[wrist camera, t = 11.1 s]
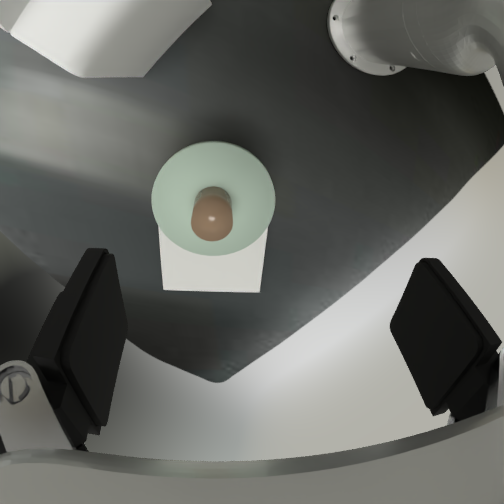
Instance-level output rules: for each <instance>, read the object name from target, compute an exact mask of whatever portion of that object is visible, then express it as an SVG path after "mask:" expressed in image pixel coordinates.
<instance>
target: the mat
mask: <svg viewBox="0 0 504 504" xmlns="http://www.w3.org/2000/svg"><path fill="white" fill-rule="evenodd" d="M267 230H268V227H267V228H266V230H265V231H264V233H263V234H262V235H261V236H260V237H259V238H258V239H257V240H256V241H255V242H254V243H252V244H251V245H249V246H248V247H246V248H244V249H242V250H240V251H237V252H235V253H231V254H227V255H221V256H206V255H200V254H195V253H192V252H189V251H187V250H185V249H183V248H181V247H179V246H178V245H176V244H175V243H173V242H172V241H171V240H170V239H169V238H168V237H167V236H166V235H165V234H164V233H163V232H162V230H161V229H160V227H159V240H160V254H161V266H162V278H163V288H164V290H183V291H217V292H259V291H260V284H261V276H262V269H263V261H264V253H265V246H266V238H267Z"/></svg>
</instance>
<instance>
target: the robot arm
mask: <svg viewBox="0 0 504 504" xmlns="http://www.w3.org/2000/svg"><path fill="white" fill-rule="evenodd" d="M333 17H335V21H334V20H333ZM327 29H328V33H329V37H330V39H331V42H332V44H333V46H334V48H335V49H336V51H337V52H338V54H339V55H340V56H341V57H342V58H343V59H344V60H345V61H346V62H347V63H348V64H350V65H351V66H352V67H354V68H356V69H358V70H359V71H362V72H365V73H368V74H372V75H381V76H385V75H392V74H395V73H398V72H400V71H402V70H403V69H405V68H406V67H412V68H419V69H426V70H432V71H438V72H444V73H449V74H455V75H462V76H473V75H478V74H481V73H484V72H486V71H488V70H489V69H490V68H492V67H493V66H494V65H496V66H497V68H498V71H499V74H500V77H501V80H502V83H503V86H504V0H334V1H333V2H332V4H331V6H330V8H329V11H328V17H327ZM350 56H351V57H352V60H350ZM390 67H391V69H390ZM390 330H391V333H392V335H393V337H394V339H395V341H396V343H397V345H398V347H399V349H400V351H401V353H402V355H403V357H404V360H405V362H406V364H407V366H408V368H409V370H410V372H411V374H412V376H413V379H414V381H415V383H416V385H417V387H418V390H419V392H420V394H421V396H422V399H423V400H424V403H425V405H426V407H427V408H429V409H430V411H431V413H432V415H433V416H436V415H439V414H442V413H445V412H446V411H447V410H448V409H449V410H450V412H451V413H450V416H449V420H448V424H447V426H444V427H441V428H438V429H434V430H431V431H428V432H425V433H421V434H417V435H414V436H410V437H406V438H402V439H398V440H394V441H390V442H386V443H382V444H377V445H372V446H368V447H363V448H358V449H352V450H347V451H341V452H335V453H328V454H321V455H313V456H305V457H296V458H286V459H274V460H259V461H230V462H208V461H207V462H206V461H179V460H160V459H147V458H137V457H127V456H119V455H111V454H102V453H94V452H89V450H88V449H87V447H86V446H85V444H84V442H85V441H86V439H87V434H88V433H89V434H95V435H100V430H101V426H106V424H107V422H108V416H109V411H110V406H111V401H112V396H113V391H114V387H115V382H116V378H117V373H118V369H119V365H120V360H121V356H122V352H123V348H124V344H125V340H126V336H127V331H128V322H127V318H126V313H125V309H124V304H123V299H122V294H121V289H120V284H119V279H118V274H117V268H116V262H115V257H114V255H113V254H109V252H108V250H107V249H104V248H88V249H87V250H86V251H85V253H84V255H83V257H82V258H81V260H80V262H79V264H78V265H77V267H76V269H75V271H74V272H73V274H72V276H71V278H70V280H69V282H68V283H67V285H66V287H65V289H64V291H63V292H61V293H60V294H59V295H58V297H57V299H56V301H55V302H54V304H53V306H52V308H51V310H50V312H49V314H48V316H47V318H46V320H45V322H44V324H43V326H42V329H41V331H40V333H39V335H38V337H37V339H36V341H35V344H34V346H33V348H32V350H31V353H30V355H29V357H28V360H27V362H23V361H10V362H7V363H4V364H3V365H1V366H0V504H504V348H503V349H502V350H501V351H500V353H499V354H498V353H497V351H496V350H497V349H498V347H499V346H500V344H501V343H502V341H501V340H500V338H499V337H498V335H497V334H496V333H495V331H494V330H493V328H492V327H491V325H490V324H489V323H488V321H487V320H486V318H485V317H484V316H483V314H482V313H481V312H480V310H479V309H478V308H477V306H476V305H475V304H474V302H473V301H472V300H471V298H470V297H469V296H468V295H467V293H466V292H465V291H464V289H463V288H462V287H461V286H460V285H459V283H458V282H457V281H456V279H455V278H454V277H453V276H452V274H451V273H450V272H449V271H448V270H447V268H446V267H445V266H444V265H443V264H442V263H441V261H440V260H439V259H437V258H422V259H421V260H420V261H419V262H418V263H417V264H416V265H415V267H414V270H413V272H412V274H411V277H410V279H409V282H408V284H407V287H406V289H405V291H404V293H403V296H402V298H401V300H400V302H399V305H398V307H397V309H396V311H395V313H394V315H393V318H392V320H391V323H390Z"/></svg>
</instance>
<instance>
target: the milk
mask: <svg viewBox="0 0 504 504" xmlns="http://www.w3.org/2000/svg"><path fill="white" fill-rule="evenodd" d="M211 5H212V3H211V1H210V0H0V27H1V28H2V29H3V30H5V31H6V32H10V33H11V36H13V37H14V38H16V39H18V40H19V41H21V42H23V43H24V44H26V45H27V46H29V47H30V48H32V49H34V50H35V51H37V52H38V53H40V54H41V55H43V56H45V57H46V58H48V59H49V60H51V61H52V62H54V63H55V64H57V65H58V66H60V67H62V68H63V69H65V70H66V71H68V72H70V73H72V74H74V75H76V76H79V77H82V78H95V77H144V76H145V75H146V73H147V72H148V71H149V70H150V69H151V68H152V66H153V65H154V64H155V63H156V62H157V61H158V59H159V58H160V57H161V56H162V55H163V54H164V53H165V52H166V51H167V49H168V48H169V47H170V46H171V45H172V44H173V43H174V42H175V41H176V40H177V39H178V38H179V37H180V36H181V35H182V33H183V32H184V31H185V30H186V29H187V28H188V27H189V26H190V25H191V24H192V23H193V22H194V21H195V20H196V19H197V18H198V17H200V16H201V15H202V14H203V13H204V12H205V11H206V10H207V9H208V8H209V7H210V6H211Z"/></svg>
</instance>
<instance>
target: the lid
mask: <svg viewBox="0 0 504 504" xmlns="http://www.w3.org/2000/svg"><path fill="white" fill-rule="evenodd" d="M274 208H275V191H274V187H273V183H272V180H271V178H270V175H269V173H268V171H267V170H266V168H265V166H264V165H263V164H262V162H261V161H260V160H259V159H258V158H257V157H256V156H255V155H253V154H252V153H251V152H249V151H248V150H246V149H244V148H243V147H241V146H238V145H236V144H233V143H229V142H225V141H203V142H198V143H195V144H191V145H189V146H187V147H185V148H183V149H181V150H179V151H178V152H176V153H175V154H174V155H173V156H172V157H170V158H169V159H168V161H167V162H166V163H165V164H164V165H163V167H162V168H161V170H160V172H159V174H158V176H157V178H156V180H155V183H154V186H153V190H152V209H153V213H154V217H155V219H156V222H157V224H158V225H159V227H160V229H161V230H162V232H163V233H164V234H165V235H166V236H167V237H168V238H169V239H170V240H171V241H172V242H173V243H175V244H176V245H178V246H179V247H181V248H183V249H185V250H187V251H189V252H192V253H195V254H200V255H206V256H221V255H227V254H231V253H235V252H237V251H240V250H242V249H244V248H246V247H248V246H249V245H251V244H252V243H254V242H255V241H256V240H257V239H258V238H259V237H260V236H261V235H262V234H263V233H264V231H265V230H266V228H267V227H268V225H269V223H270V221H271V219H272V216H273V213H274Z"/></svg>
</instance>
